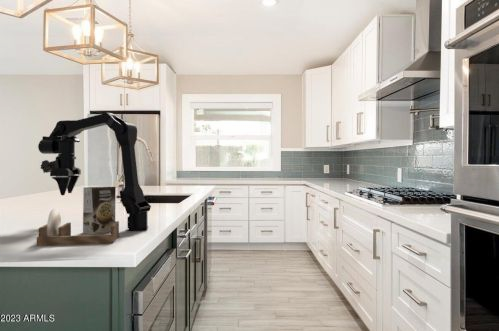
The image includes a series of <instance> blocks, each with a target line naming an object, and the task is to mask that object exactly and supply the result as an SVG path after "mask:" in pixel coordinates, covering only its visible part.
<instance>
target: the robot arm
mask: <svg viewBox="0 0 499 331" xmlns="http://www.w3.org/2000/svg"><path fill="white" fill-rule="evenodd" d="M106 125H107V127H108V128H109V129H110V130H112V131H113V132H114V135H115V139H116V141H117V143H118V145H119V146H120V150H121V151H120V152H121V160H122V171H123V178H124V188H123V190H119V195H120V196H119V197H120V201H119V203H120V202H121V204H122V206H123V208H124V209H125V212H126V214H127V215H128V216H127V230H128V231H133V232H134V231H148V228H149V225H148V217H149V216H148V212H150V210H151V207H152V205H151V204H150V203H149V202H148V201H147V200H146V198H145V193H144V191H143V189H142V187H141V185H140V184H139V177H138V170H137V169H138V166H137V158H136V157H137V156H136V151H135V150H136V149H135V145H136V142H137V139H138V128H137V126H136V125H135V124H133V123H129V122H127V121H125V120H123V119H121V118H120V117H118V116H117V115H115V114H114V113H111V112H108V111H106V112H103V113H100V114H96V115H92V116H89V117H85V118H81V119H78V120H77V119H76V120H75V119H74V120H73V119H72V120H71V119H70V120H69V119H68V120H59V121H57V122H56V125H55V127H54V128H53V130H52V132H51V133H50V134H49V136H46V135H45V136H44V135H43V136H42V139H40V141H39V143H38V145H37V148H38V151H39V152H40V153H41V154H43V155H46V154H48V155H49V154H50V155H57V156H56V157H55V160H52V161H49V160H47V159H44V160H42V161H41V164H40V169H41V170H42V172H43V173H44V174H45V173H46V174H47V173H49V177H51V178H52V180H54V181H55V182H56V183H57V186H58V191H59V193H60V196H65V195H66V192H67V193H68V194H72V193H73V190H74V188H75V186H76V183H77V182H78V179H79V178H80V175H82V171H81V169H80V167H76V166H75V160H77V156H76V155H75V154H76V153H75V152H76V151H75V150H76V149H75V148H76V147H75V146H76V145H75V144H76V143H80V142H81V141H80V139H79V138H78V137H76V136H77V135H80V134H81V133H82V132H84V131H86V130H90V129H94V128H100V127H103V126H106Z"/></svg>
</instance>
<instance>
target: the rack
mask: <svg viewBox="0 0 499 331" xmlns="http://www.w3.org/2000/svg"><path fill="white" fill-rule="evenodd" d="M46 222H47V224H44V225H42V226H41V227H38V236H37V237H36V246H37V247H39V246H40V247H42V246H45V247H46V246H67V245H68V246H70V245H74V246H75V245H76V246H77V245H94V244H95V245H97V244H98V245H100V244H101V245H103V244H114V243H115V241H117V239H118V238H119V237H120V221H116V220H115V223H113V224H112V225H111V232H110V234H95V235H92V234H86V235H85V234H84V235H83V234H82V235H72V226H71V225H72V223H71V222H67V223H64V224H62V216H61V214H60V210H58V209H52V210H51V211H50V212H49V215H48V219H47V221H46Z"/></svg>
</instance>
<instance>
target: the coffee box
mask: <svg viewBox="0 0 499 331" xmlns="http://www.w3.org/2000/svg"><path fill="white" fill-rule="evenodd" d="M116 190H117V189H116V186H89V187H88V186H87V187H83V191H82V193H83V194H82V195H83V199H82V201H83V203H82V208H83V209H82V210H83V211H82V234H86V235H101V234H105V233H111V225H112V224H113V223H115V222H116Z"/></svg>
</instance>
